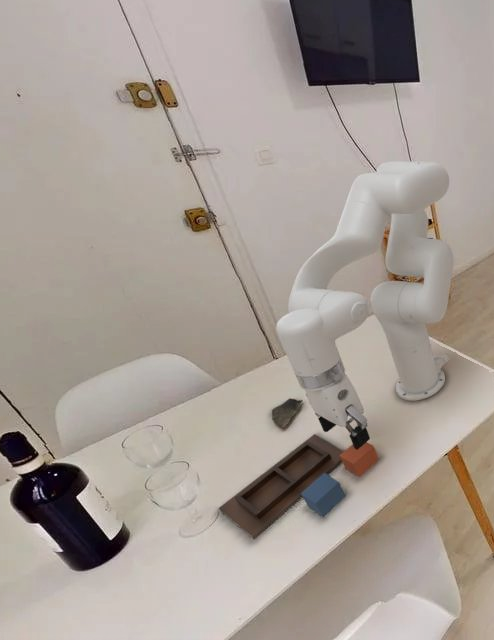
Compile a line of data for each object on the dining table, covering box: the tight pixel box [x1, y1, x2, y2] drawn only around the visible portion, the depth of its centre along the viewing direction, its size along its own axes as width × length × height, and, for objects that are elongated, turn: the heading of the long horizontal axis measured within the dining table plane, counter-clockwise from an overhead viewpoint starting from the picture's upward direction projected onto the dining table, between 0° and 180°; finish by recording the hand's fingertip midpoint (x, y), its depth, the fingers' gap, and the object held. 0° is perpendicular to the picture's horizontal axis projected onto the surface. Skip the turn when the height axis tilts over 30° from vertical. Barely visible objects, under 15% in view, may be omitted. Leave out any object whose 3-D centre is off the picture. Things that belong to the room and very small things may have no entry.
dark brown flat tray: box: [218, 433, 345, 540], centre depth 86 cm, size 20×12×2 cm, turn 152°
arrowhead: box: [271, 397, 303, 429], centre depth 102 cm, size 7×10×1 cm
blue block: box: [301, 473, 346, 518], centre depth 81 cm, size 5×5×4 cm
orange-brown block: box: [339, 441, 380, 478], centre depth 88 cm, size 5×5×4 cm
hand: (346, 435), depth 84 cm, fingers open, 9 cm apart
